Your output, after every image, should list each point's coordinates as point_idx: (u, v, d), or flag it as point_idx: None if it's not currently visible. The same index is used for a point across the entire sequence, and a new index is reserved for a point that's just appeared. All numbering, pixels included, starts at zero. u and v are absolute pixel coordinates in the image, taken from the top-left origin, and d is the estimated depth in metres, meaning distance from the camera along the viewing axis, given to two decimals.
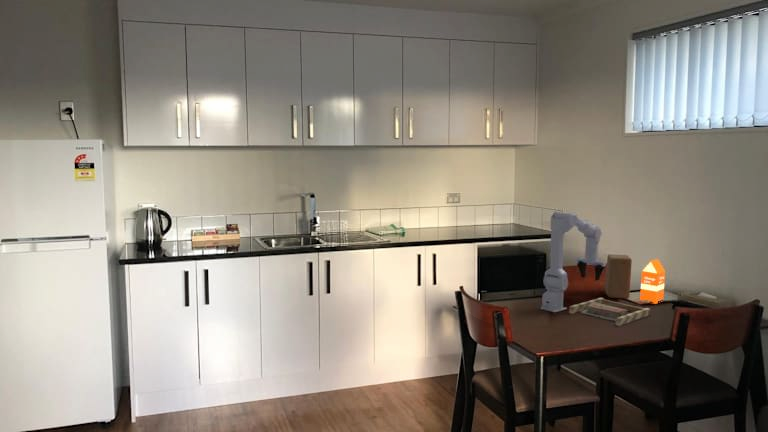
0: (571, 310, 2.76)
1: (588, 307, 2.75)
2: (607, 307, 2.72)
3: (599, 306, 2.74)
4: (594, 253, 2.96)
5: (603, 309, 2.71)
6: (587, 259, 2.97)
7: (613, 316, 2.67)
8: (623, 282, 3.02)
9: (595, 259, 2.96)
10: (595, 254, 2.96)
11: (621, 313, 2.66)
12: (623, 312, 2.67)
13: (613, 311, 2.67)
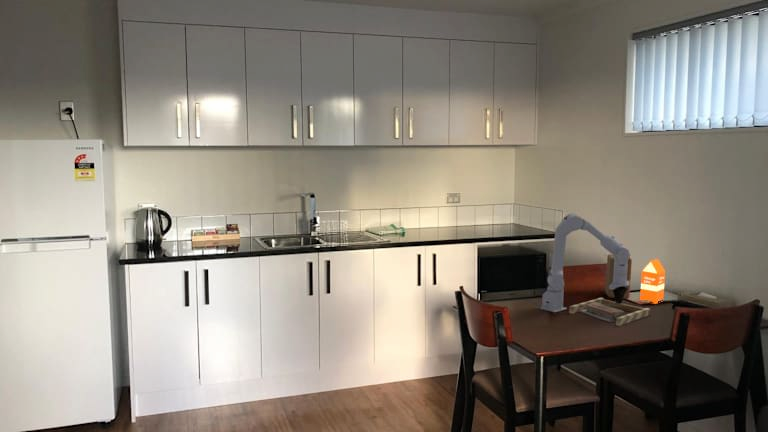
0: (571, 310, 2.76)
1: (587, 306, 2.77)
2: (604, 307, 2.71)
3: (597, 306, 2.74)
4: (614, 275, 2.78)
5: (599, 309, 2.71)
6: None
7: (607, 316, 2.67)
8: None
9: (615, 281, 2.78)
10: (615, 276, 2.77)
11: (615, 314, 2.64)
12: (617, 313, 2.65)
13: (607, 311, 2.67)
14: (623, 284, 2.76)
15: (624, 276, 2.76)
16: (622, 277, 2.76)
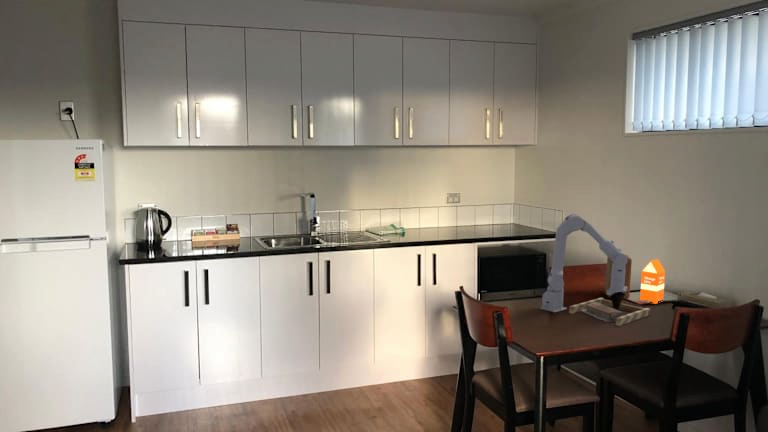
0: (571, 310, 2.76)
1: (587, 306, 2.77)
2: (603, 307, 2.71)
3: (596, 306, 2.74)
4: (612, 280, 2.77)
5: (598, 309, 2.71)
6: None
7: (604, 316, 2.67)
8: None
9: (612, 287, 2.77)
10: (613, 281, 2.77)
11: (611, 314, 2.64)
12: (615, 313, 2.65)
13: (605, 311, 2.67)
14: (621, 290, 2.75)
15: (622, 282, 2.75)
16: (620, 283, 2.75)
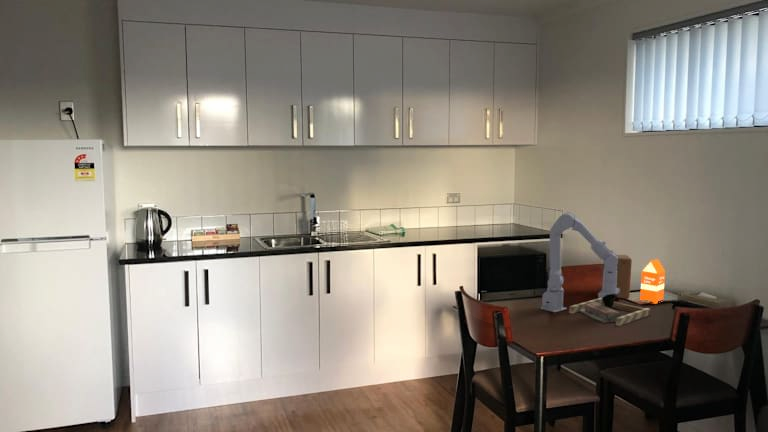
0: (571, 310, 2.76)
1: (585, 306, 2.77)
2: (601, 307, 2.70)
3: (595, 306, 2.73)
4: (603, 282, 2.73)
5: (595, 309, 2.70)
6: None
7: (602, 316, 2.66)
8: (623, 282, 3.02)
9: (604, 289, 2.72)
10: (604, 283, 2.72)
11: (608, 314, 2.63)
12: (612, 314, 2.64)
13: (602, 311, 2.66)
14: (613, 292, 2.71)
15: (614, 284, 2.71)
16: (611, 285, 2.71)
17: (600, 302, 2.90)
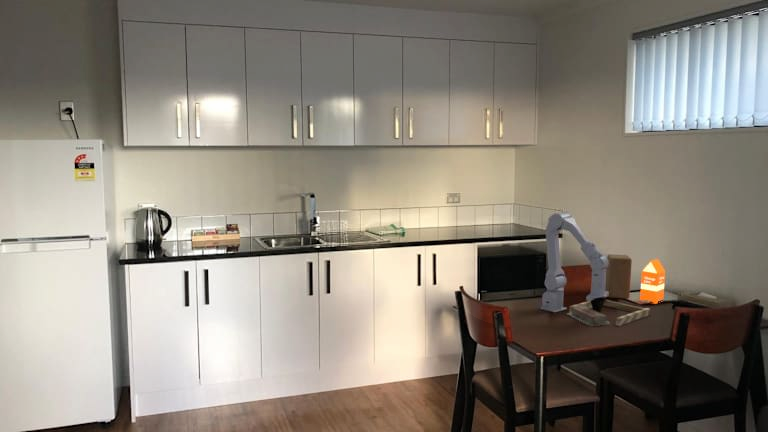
0: (571, 310, 2.76)
1: (572, 309, 2.72)
2: (588, 311, 2.65)
3: (582, 309, 2.68)
4: (592, 285, 2.67)
5: (582, 312, 2.65)
6: None
7: (588, 320, 2.61)
8: (623, 282, 3.02)
9: (593, 292, 2.67)
10: (593, 286, 2.66)
11: (595, 318, 2.58)
12: (598, 317, 2.59)
13: (588, 315, 2.61)
14: (601, 295, 2.65)
15: (602, 287, 2.65)
16: (600, 288, 2.65)
17: None
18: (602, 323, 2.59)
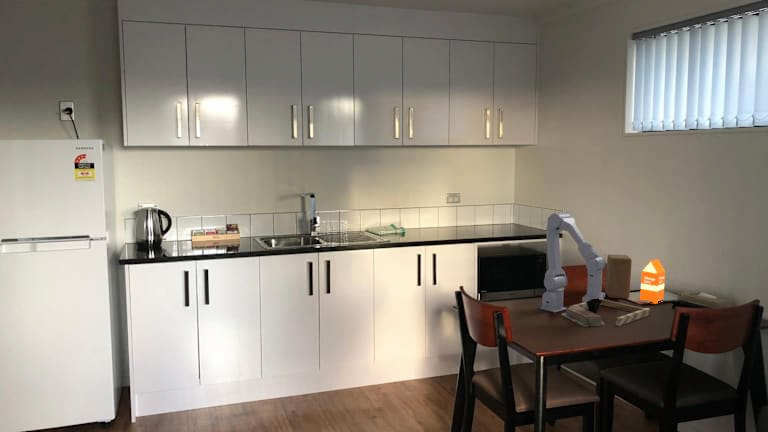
0: None
1: (567, 310, 2.71)
2: (582, 311, 2.65)
3: (576, 310, 2.67)
4: (588, 286, 2.65)
5: (577, 313, 2.64)
6: None
7: (583, 321, 2.60)
8: (623, 282, 3.02)
9: (589, 293, 2.65)
10: (589, 287, 2.65)
11: (589, 318, 2.57)
12: (593, 318, 2.58)
13: (583, 315, 2.60)
14: (597, 296, 2.63)
15: (598, 288, 2.63)
16: (596, 289, 2.63)
17: None
18: (597, 323, 2.58)
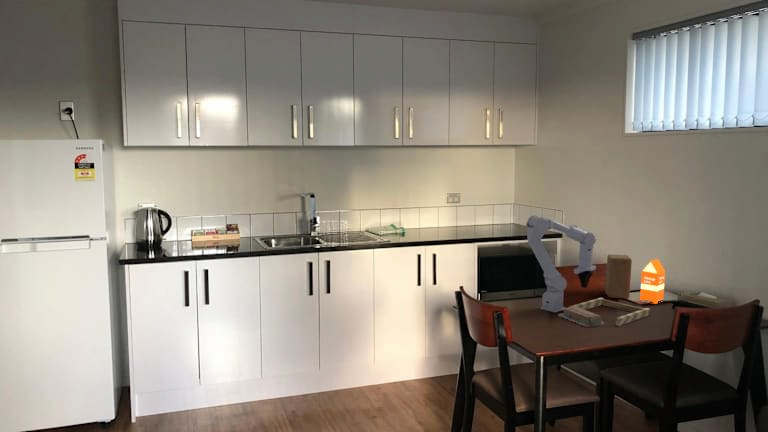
0: None
1: (564, 310, 2.70)
2: (582, 311, 2.64)
3: (575, 310, 2.67)
4: (579, 259, 2.83)
5: (576, 313, 2.64)
6: None
7: (583, 321, 2.60)
8: (623, 282, 3.02)
9: (580, 266, 2.83)
10: (580, 260, 2.83)
11: (591, 318, 2.57)
12: (594, 318, 2.58)
13: (584, 316, 2.60)
14: (588, 268, 2.81)
15: (589, 261, 2.81)
16: (587, 262, 2.81)
17: (600, 302, 2.90)
18: (597, 323, 2.59)
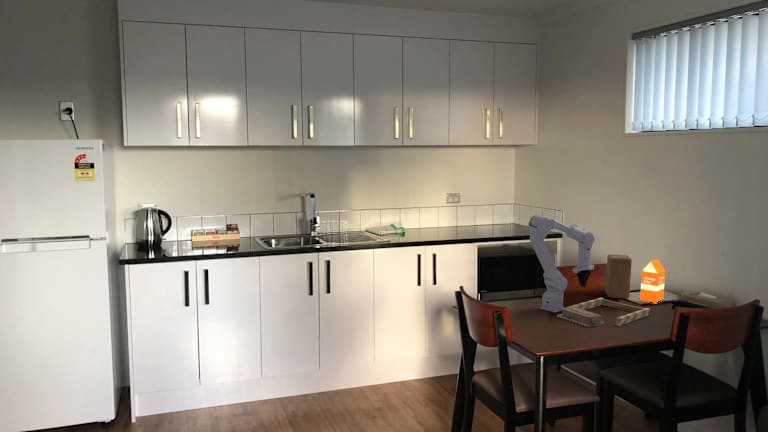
0: None
1: (563, 311, 2.69)
2: (581, 312, 2.64)
3: (574, 310, 2.66)
4: (578, 259, 2.85)
5: (576, 313, 2.63)
6: None
7: (584, 321, 2.60)
8: (623, 282, 3.02)
9: (579, 265, 2.85)
10: (579, 259, 2.85)
11: (592, 318, 2.57)
12: (595, 317, 2.58)
13: (585, 316, 2.60)
14: (587, 268, 2.83)
15: (588, 260, 2.83)
16: (586, 261, 2.83)
17: (600, 302, 2.90)
18: (598, 323, 2.59)
